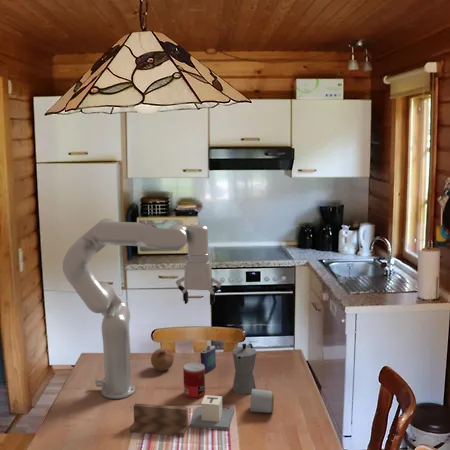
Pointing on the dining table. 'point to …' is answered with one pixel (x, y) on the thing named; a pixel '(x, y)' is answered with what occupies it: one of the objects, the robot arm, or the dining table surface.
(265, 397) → the ceramic mug
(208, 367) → the flask
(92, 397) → the dining table surface
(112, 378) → the robot arm
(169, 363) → the onion
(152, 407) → the walnut screen
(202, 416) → the marked cube
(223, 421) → the slate mat
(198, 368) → the canned food
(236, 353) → the coffeepot
